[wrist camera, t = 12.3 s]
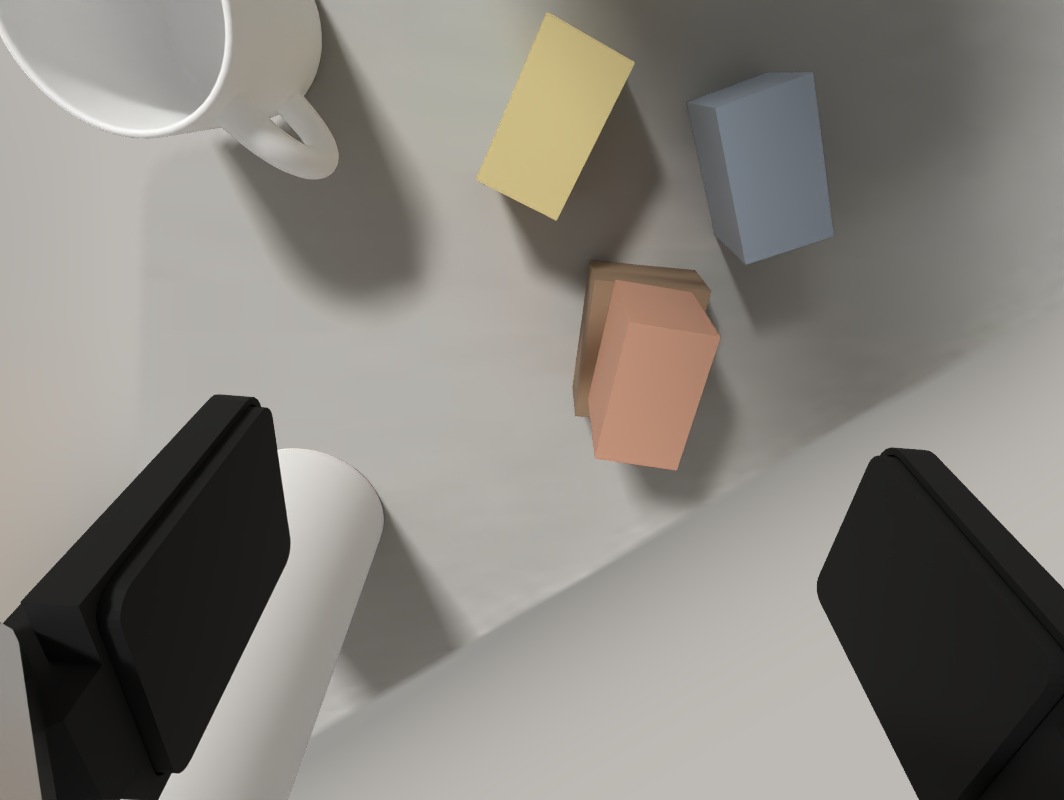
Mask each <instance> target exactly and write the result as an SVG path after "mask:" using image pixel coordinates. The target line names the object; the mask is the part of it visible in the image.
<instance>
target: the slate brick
mask: <svg viewBox="0 0 1064 800" xmlns="http://www.w3.org/2000/svg"><path fill="white" fill-rule="evenodd" d="M686 103H687V107H688V112H689V117H690V121H691V126H692V131H693V136H694V140H695V145H696V150H697V154H698V159H699V164H700V168H701V173H702V178H703V183H704V187H705V192H706V197H707V201H708V206H709V211H710V215H711V220H712V225H713V229H714V234H715V236H716V237H717V238H718V239H719V240H720V241H721V242H722V243H723V244H724V245H725V246H726V247H728V248H729V249H730V250H731V251H732V252H733V253H734V254H735V255H736V256H737V257H738V258H739V259H740V260H741V261H742V262H743V263H744V264H745V265H747V264H750V263H753V262H756V261H759V260H762V259H765V258H768V257H772V256H775V255H778V254H781V253H784V252H787V251H790V250H793V249H796V248H800V247H803V246H806V245H809V244H812V243H815V242H818V241H821V240H824V239H828V238H831V237H834V234H833V226H832V218H831V210H830V202H829V194H828V186H827V178H826V170H825V162H824V154H823V146H822V138H821V129H820V121H819V113H818V105H817V97H816V89H815V81H814V73H813V72H766V73H764V74H761V75H758V76H756V77H753V78H750V79H748V80H745V81H742V82H740V83H737V84H734V85H731V86H729V87H726V88H723V89H721V90H718V91H715V92H713V93H710V94H707V95H705V96H702V97H699V98H697V99H694V100H691V101H689V102H686Z"/></svg>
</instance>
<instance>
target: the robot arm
mask: <svg viewBox="0 0 1064 800" xmlns="http://www.w3.org/2000/svg"><path fill="white" fill-rule="evenodd" d="M290 546H291V540H290V532H289V525H288V519H287V512H286V505H285V498H284V492H283V485H282V478H281V471H280V464H279V458H278V451H277V444H276V437H275V430H274V424H273V417H272V413H271V411H270V409H268V408H264V407H261V405H260V403H259V401H258V399H256V398H255V397H245V396H232V395H219V394H218V395H214V396H212V397H211V398H210V399H209V400H208V401H207V402H206V403H205V404H204V405H203V406H202V407H201V408H200V410H199V411H198V412H197V413H196V414H195V415H194V416H193V417H192V418H191V419H190V420H189V421H188V422H187V424H186V425H185V426H184V427H183V428H182V429H181V430H180V431H179V432H178V433H177V434H176V435H175V436H174V438H173V439H172V440H171V441H170V442H169V443H168V444H167V445H166V446H165V447H164V448H163V449H162V450H161V451H160V453H159V454H158V455H157V456H156V457H155V458H154V459H153V460H152V461H151V462H150V463H149V464H148V465H147V467H146V468H145V469H144V470H143V471H142V472H141V473H140V474H139V475H138V476H137V477H136V478H135V479H134V481H133V482H132V483H131V484H130V485H129V486H128V487H127V488H126V489H125V490H124V491H123V492H122V493H121V495H120V496H119V497H118V498H117V499H116V500H115V501H114V502H113V503H112V504H111V505H110V506H109V507H108V509H107V510H106V511H105V512H104V513H103V514H102V515H101V516H100V517H99V518H98V519H97V520H96V521H95V522H94V524H93V525H92V526H91V527H90V528H89V529H88V530H87V531H86V532H85V533H84V534H83V535H82V537H81V538H80V539H79V540H78V541H77V542H76V543H75V544H74V545H73V546H72V547H71V548H70V550H68V552H67V553H66V554H65V555H64V556H63V557H62V558H61V559H60V560H59V561H58V562H57V563H56V565H54V567H53V568H52V569H51V570H50V571H49V572H48V573H47V574H46V575H45V576H44V577H43V578H42V580H41V581H40V582H39V583H38V584H37V585H36V586H35V587H34V588H33V589H32V590H31V591H30V592H29V594H28V595H27V596H26V597H25V598H24V599H23V600H22V601H21V604H20V605H19V606H18V608H17V609H16V610H15V611H14V612H13V613H12V614H11V615H10V616H9V617H8V618H7V619H6V621H5V622H4V623H3V624H2V623H1V622H0V800H120V799H128V800H159V798H160V796H161V794H162V792H163V790H164V788H165V786H166V784H167V782H168V780H169V778H170V776H171V774H172V773H176V774H179V773H181V772H182V771H184V769H185V768H186V767H187V766H188V764H189V762H190V760H191V759H192V757H193V755H194V753H195V751H196V748H197V746H198V744H199V742H200V740H201V738H202V736H203V734H204V732H205V730H206V728H207V726H208V724H209V722H210V720H211V718H212V716H213V714H214V712H215V709H216V707H217V705H218V703H219V701H220V699H221V697H222V695H223V693H224V691H225V689H226V687H227V685H228V683H229V681H230V679H231V677H232V675H233V673H234V670H235V668H236V666H237V664H238V662H239V660H240V658H241V656H242V654H243V652H244V650H245V648H246V646H247V644H248V642H249V640H250V638H251V636H252V634H253V632H254V629H255V627H256V625H257V623H258V621H259V619H260V617H261V615H262V613H263V611H264V609H265V607H266V605H267V603H268V601H269V599H270V597H271V595H272V593H273V590H274V588H275V586H276V584H277V582H278V580H279V578H280V576H281V574H282V572H283V570H284V568H285V566H286V564H287V561H288V558H289V554H290ZM817 594H818V598H819V600H820V603H821V605H822V607H823V609H824V611H825V613H826V615H827V617H828V619H829V621H830V623H831V625H832V627H833V629H834V631H835V633H836V635H837V637H838V639H839V641H840V643H841V645H842V647H843V649H844V651H845V653H846V655H847V657H848V659H849V661H850V663H851V665H852V667H853V669H854V671H855V673H856V675H857V677H858V679H859V681H860V683H861V685H862V687H863V689H864V691H865V693H866V695H867V697H868V699H869V701H870V703H871V705H872V707H873V709H874V711H875V713H876V715H877V717H878V718H879V720H880V723H881V725H882V727H883V728H884V731H885V733H886V735H887V737H888V739H889V741H890V743H891V745H892V747H893V749H894V751H895V753H896V755H897V757H898V759H899V760H900V763H901V765H902V767H903V768H904V771H905V773H906V775H907V777H908V779H909V781H910V783H911V785H912V786H913V789H914V791H915V792H916V795H917V797H918V798H919V800H1064V589H1063V588H1062V586H1061V585H1060V584H1059V583H1058V582H1057V581H1056V580H1055V579H1054V578H1053V577H1052V576H1051V575H1050V574H1049V573H1048V572H1047V571H1046V570H1045V569H1044V568H1043V567H1042V566H1041V565H1040V564H1039V563H1038V561H1037V560H1036V559H1035V558H1034V557H1033V556H1032V555H1031V554H1030V553H1029V552H1028V551H1027V550H1026V549H1025V548H1024V547H1023V546H1022V545H1021V544H1020V543H1019V542H1018V541H1017V540H1016V539H1015V538H1014V536H1013V535H1012V534H1011V533H1010V532H1009V531H1008V530H1007V529H1006V528H1005V527H1004V526H1003V525H1002V524H1001V523H1000V522H999V521H998V520H997V519H996V518H995V517H994V516H993V515H992V514H991V513H990V512H989V510H987V508H986V507H985V506H984V505H983V504H982V503H981V502H980V501H979V500H978V499H977V498H976V497H975V496H974V495H973V494H972V493H971V492H970V491H969V490H968V489H967V487H966V486H965V485H963V483H962V482H961V481H960V480H959V479H958V478H957V477H956V476H955V475H954V474H953V473H952V472H951V471H950V470H949V469H948V468H947V467H946V466H945V465H944V464H943V462H942V461H940V459H939V458H938V457H937V456H936V455H935V454H933V453H932V452H930V451H926V450H916V449H902V448H888V449H886V450H885V451H883V452H882V453H881V455H880V456H876V457H874V458H872V459H871V461H870V462H869V464H868V466H867V469H866V471H865V473H864V475H863V477H862V480H861V482H860V484H859V487H858V489H857V491H856V493H855V496H854V498H853V500H852V502H851V505H850V507H849V509H848V511H847V514H846V516H845V518H844V521H843V523H842V525H841V527H840V529H839V532H838V534H837V536H836V538H835V541H834V543H833V545H832V548H831V550H830V552H829V554H828V557H827V559H826V561H825V563H824V566H823V568H822V570H821V572H820V575H819V577H818V581H817Z"/></svg>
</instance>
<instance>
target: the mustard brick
mask: <svg viewBox="0 0 1064 800" xmlns="http://www.w3.org/2000/svg"><path fill="white" fill-rule="evenodd" d="M634 64H635V62H633V61H632V60H630V59H628V58H626V57H625V56H623V55H621V54H620V53H618V52H616V51H614V50H613V49H611V48H609V47H607V46H606V45H604V44H602V43H600V42H599V41H597V40H595V39H593V38H592V37H590V36H588V35H586V34H585V33H583V32H581V31H580V30H578V29H576V28H574V27H573V26H571V25H569V24H567V23H566V22H564V21H562V20H560V19H559V18H557V17H555V16H553V15H552V14H550V13H548V12H546V15H545V17H544V19H543V22H542V24H541V27H540V29H539V31H538V34H537V36H536V38H535V41H534V43H533V45H532V48H531V50H530V53H529V55H528V57H527V60H526V62H525V64H524V67H523V69H522V71H521V74H520V76H519V79H518V81H517V83H516V86H515V88H514V90H513V93H512V95H511V98H510V100H509V102H508V105H507V107H506V109H505V112H504V114H503V116H502V119H501V121H500V124H499V126H498V128H497V131H496V133H495V135H494V138H493V140H492V142H491V145H490V147H489V150H488V152H487V154H486V157H485V159H484V161H483V164H482V166H481V168H480V171H479V173H478V176H477V178H476V180H477V181H479V182H481V183H483V184H485V185H487V186H489V187H491V188H493V189H495V190H497V191H498V192H500V193H502V194H504V195H506V196H508V197H510V198H512V199H514V200H516V201H518V202H520V203H522V204H524V205H526V206H528V207H530V208H532V209H534V210H536V211H538V212H540V213H542V214H544V215H546V216H548V217H550V218H552V219H554V220H556V221H557V219H558V217H559V215H560V213H561V211H562V209H563V207H564V205H565V203H566V201H567V199H568V197H569V195H570V193H571V191H572V189H573V187H574V185H575V183H576V181H577V179H578V177H579V175H580V173H581V171H582V168H583V166H584V164H585V162H586V160H587V158H588V156H589V154H590V152H591V150H592V148H593V146H594V144H595V142H596V140H597V138H598V136H599V134H600V132H601V130H602V128H603V126H604V124H605V122H606V120H607V118H608V116H609V114H610V112H611V110H612V108H613V106H614V104H615V102H616V100H617V98H618V96H619V94H620V92H621V90H622V88H623V86H624V84H625V82H626V80H627V78H628V76H629V74H630V72H631V70H632V68H633V66H634Z"/></svg>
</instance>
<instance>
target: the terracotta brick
mask: <svg viewBox="0 0 1064 800" xmlns="http://www.w3.org/2000/svg"><path fill="white" fill-rule="evenodd" d="M720 338H721V336H720V335H719V333H718V332H717V330H716V329H715V327H714V326H713V324H712V322H711V321H710V319H709V318H708V316H707V315H706V313H705V312H704V310H703V308H702V307H701V305H700V304H699V302H698V301H697V299H696V298H695V296H694V294H693V293H692V292H688V291H682V290H676V289H670V288H664V287H658V286H652V285H645V284H639V283H633V282H627V281H621V280H615V284H614V288H613V293H612V297H611V301H610V306H609V310H608V314H607V319H606V323H605V327H604V332H603V336H602V340H601V345H600V349H599V353H598V358H597V362H596V366H595V371H594V375H593V379H592V384H591V388H590V393H589V397H588V404H589V412H590V421H591V429H592V437H593V446H594V454H595V459H602V460H609V461H616V462H622V463H629V464H636V465H643V466H649V467H656V468H663V469H670V470H676V471H677V469H678V466H679V462H680V459H681V456H682V453H683V450H684V447H685V444H686V441H687V438H688V435H689V432H690V429H691V426H692V423H693V420H694V417H695V414H696V411H697V408H698V405H699V402H700V399H701V395H702V392H703V389H704V386H705V383H706V380H707V377H708V374H709V371H710V368H711V365H712V362H713V359H714V356H715V353H716V350H717V347H718V344H719V341H720Z"/></svg>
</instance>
